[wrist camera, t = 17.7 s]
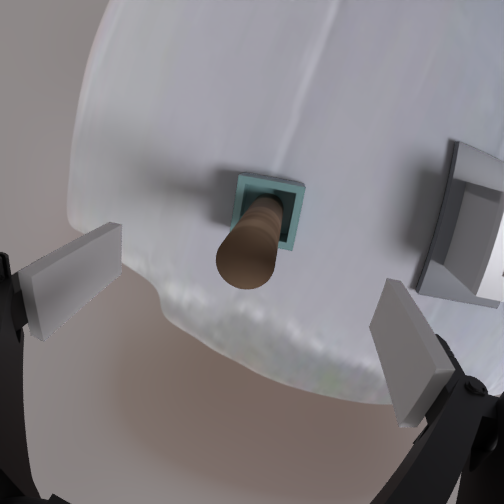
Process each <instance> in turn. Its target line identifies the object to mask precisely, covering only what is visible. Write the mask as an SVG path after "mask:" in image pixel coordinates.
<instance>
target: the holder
mask: <svg viewBox="0 0 504 504" xmlns="http://www.w3.org/2000/svg"><path fill="white" fill-rule="evenodd" d="M305 188H306V187H305V185H304V183H300V182H295V181H290V180H285V179H280V178H274V177H269V176H264V175H258V174H252V173H247V172H244V173H242V174H240V175H239V177H238V183H237V189H236V195H235V202H234V208H233V215H232V221H231V228H230V232H231V230H232V229H233V228H234V227H235V225H236V224H237V223H238V221H239V220H240V219H241V217H242V216H243V215H244V213H245V212H246V211H247V210H248V208H249V207H250V206H251V204H252V203H253V202H254V200H255V199H256V198H257V197H258V196H260V195H261V194H265V193H271V194H274V195H276V196H277V197H279V198H280V200H281V201H282V203H283V207H284V210H283V217H282V224H281V230H280V237H279V243H278V248H280V249H285V250H290V251H292V250H293V245H294V241H295V236H296V231H297V227H298V222H299V217H300V212H301V208H302V203H303V198H304V193H305Z"/></svg>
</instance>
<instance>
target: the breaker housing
mask: <svg viewBox="0 0 504 504" xmlns="http://www.w3.org/2000/svg"><path fill="white" fill-rule="evenodd" d="M416 292H417V293H418V294H420V295H425V296H431V297H436V298H441V299H447V300H452V301H458V302H463V303H469V304H474V305H480V306H485V307H491V308H496V309H497V308H498V306H499V304H500V301H502V302H504V162H503V161H501V160H499V159H497V158H495V157H493V156H491V155H489V154H486V153H484V152H482V151H480V150H478V149H476V148H473V147H471V146H469V145H466V144H464V143H462V142H456V141H455V147H454V153H453V158H452V164H451V169H450V173H449V178H448V183H447V187H446V192H445V196H444V200H443V204H442V208H441V212H440V215H439V219H438V223H437V226H436V230H435V233H434V237H433V240H432V243H431V247H430V250H429V253H428V256H427V259H426V262H425V265H424V268H423V271H422V274H421V277H420V280H419V282H418V285H417V288H416Z"/></svg>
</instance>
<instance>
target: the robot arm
mask: <svg viewBox="0 0 504 504" xmlns="http://www.w3.org/2000/svg"><path fill="white" fill-rule="evenodd" d="M121 250H122V224H117V223H112V222H109V223H107V224H105V225H103V226H101V227H99V228H97V229H95V230H93V231H91V232H89V233H87V234H85V235H83V236H81V237H79V238H77V239H75V240H73V241H72V242H70V243H68V244H66V245H64V246H63V247H60V248H59V249H57V250H55V251H53V252H51V253H49V254H48V255H46V256H44V257H42V258H40V259H38V260H37V261H35V262H33V263H31V264H30V265H28V266H26V267H25V268H23V269H21V270H19V271H18V272H16V273H15V274H13V275H11V270H10V264H9V257H8V255H7V254H6V253H3V252H0V504H70V503H68V502H66V501H65V500H63V499H61V498H60V497H58V496H56V495H55V494H52V495H51V497H50V499H49V500H46V499H41V497H40V495H39V492H38V490H37V488H36V486H35V484H34V482H33V479H32V475H31V469H30V463H29V457H28V450H27V442H26V431H25V420H24V407H23V406H24V404H23V347H24V332H23V328H22V327H23V326H24V325H25V324H27V323H28V325H29V329H30V333H31V335H32V336H34V337H36V338H38V339H40V340H42V341H45V340H46V339H48V338H49V337H50V336H51V335H52V334H53V333H54V332H55V331H56V330H57V329H59V327H61V326H62V325H63V324H64V323H65V322H66V321H67V320H69V319H70V318H71V317H72V316H73V315H74V314H75V313H76V312H78V311H79V310H80V309H81V308H82V307H83V306H84V305H86V304H87V303H88V302H89V301H90V300H91V299H93V298H94V297H95V296H96V295H97V294H98V293H100V292H101V291H102V290H103V289H104V288H105V287H106V286H108V285H109V284H110V283H111V282H113V281H114V280H115V279H116V278H117V277H119V275H121V274H122V271H121ZM369 328H370V331H371V334H372V337H373V340H374V343H375V346H376V350H377V353H378V356H379V359H380V362H381V366H382V369H383V372H384V375H385V379H386V382H387V386H388V389H389V393H390V396H391V400H392V403H393V407H394V411H395V414H396V418H397V422H398V426H399V427H417V426H418V425H419V423H420V422H421V421H422V419H423V418H424V416H425V417H426V420H427V423H428V424H427V426H426V427H425V428H424V430H423V431H422V432H421V433H420V435H419V436H418V437H417V439H416V440H415V441H414V442H413V444H414V445H413V447H412V448H411V450H410V451H409V453H408V454H407V456H406V457H405V459H404V460H403V462H402V463H401V464H400V466H399V467H398V468H397V470H396V471H395V472H394V474H393V475H392V477H391V478H390V479H389V481H388V482H387V483H386V485H385V486H384V487H383V488H382V490H381V491H380V492H379V493H378V494H377V496H376V497H375V498H374V499H373V500H372V502H371V503H370V504H446V503H447V501H448V499H449V497H450V495H451V493H452V491H453V489H454V487H455V485H456V483H457V481H458V478H459V476H460V474H461V479H460V485H459V491H458V496H457V501H456V504H504V392H503V393H502V395H501V396H500V397H495V396H492V395H488V391H487V388H486V386H485V385H484V384H483V383H482V382H481V381H480V380H478V379H477V378H475V377H472V376H467V375H465V373H464V372H463V370H462V368H461V366H460V365H459V363H458V361H457V359H456V358H454V354H453V353H452V351H450V350H451V349H450V348H449V346H448V344H447V343H446V341H445V340H443V339H442V338H441V337H440V336H439V335H438V334H434V332H433V330H432V329H431V327H430V325H429V324H428V322H427V320H426V319H425V317H424V316H423V314H422V312H421V311H420V309H419V308H418V306H417V305H416V303H415V302H414V300H413V298H412V297H411V295H410V294H409V292H408V291H407V289H406V288H405V286H404V285H403V283H402V282H401V281H398V280H393V279H388V278H387V280H386V283H385V286H384V288H383V291H382V294H381V297H380V300H379V302H378V305H377V308H376V310H375V313H374V316H373V318H372V321H371V323H370V326H369ZM461 472H462V473H461Z"/></svg>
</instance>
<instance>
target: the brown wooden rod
mask: <svg viewBox="0 0 504 504" xmlns="http://www.w3.org/2000/svg"><path fill="white" fill-rule="evenodd" d="M283 210H284V207H283V203H282V201H281V200H280V198H279V197H277V196H276V195H274V194H271V193H265V194H261V195H260V196H258V197H257V198H256V199H255V200H254V202H253V203H252V204H251V206H250V207H249V208H248V210H247V211H246V212H245V213H244V215H243V216H242V217H241V219H240V220H239V221H238V223H237V224H236V225H235V227H234V228H233V229H232V230H231V232H230V233H229V234H228V236H227V237H226V238H225V240H224V241H223V242H222V244H221V245H220V247H219V249H218V251H217V255H216V265H217V269H218V271H219V273H220V275H221V276H222V278H223V279H224V280H225V281H226V282H227V283H229V284H230V285H232V286H234V287H236V288H240V289H254V288H257V287H260V286H262V285H263V284H265V283H266V282H267V281H268V280H269V279H270V277H271V276H272V274H273V272H274V268H275V262H276V256H277V249H278V243H279V237H280V230H281V224H282V217H283Z"/></svg>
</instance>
